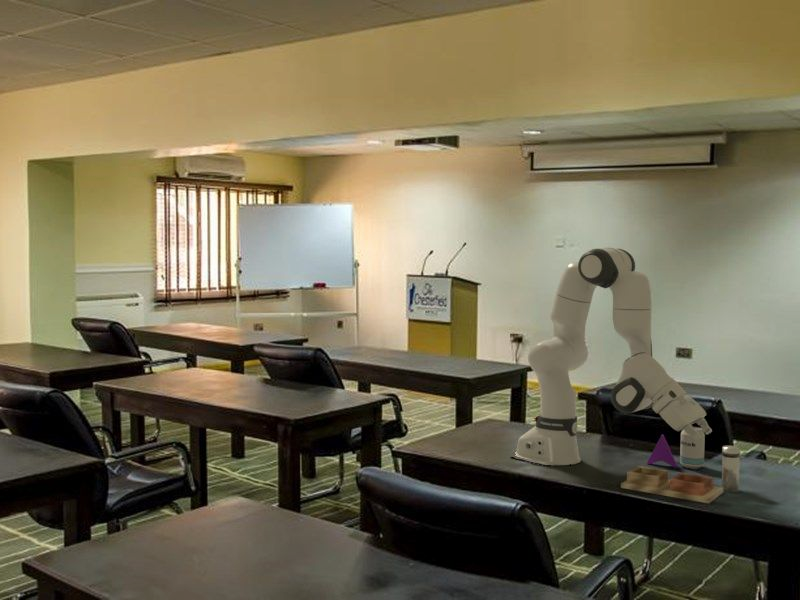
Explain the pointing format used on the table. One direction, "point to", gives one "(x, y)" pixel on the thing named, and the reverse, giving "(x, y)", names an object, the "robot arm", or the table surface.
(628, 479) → the collar board
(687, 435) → the beverage can
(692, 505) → the table surface
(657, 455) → the arrowhead
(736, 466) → the white cylinder
